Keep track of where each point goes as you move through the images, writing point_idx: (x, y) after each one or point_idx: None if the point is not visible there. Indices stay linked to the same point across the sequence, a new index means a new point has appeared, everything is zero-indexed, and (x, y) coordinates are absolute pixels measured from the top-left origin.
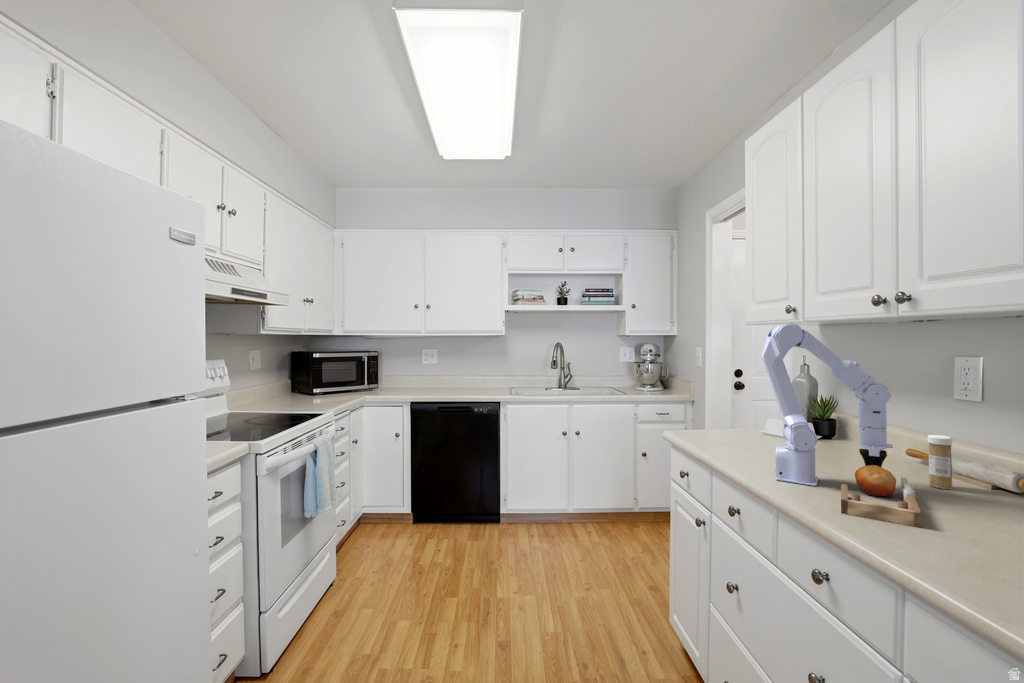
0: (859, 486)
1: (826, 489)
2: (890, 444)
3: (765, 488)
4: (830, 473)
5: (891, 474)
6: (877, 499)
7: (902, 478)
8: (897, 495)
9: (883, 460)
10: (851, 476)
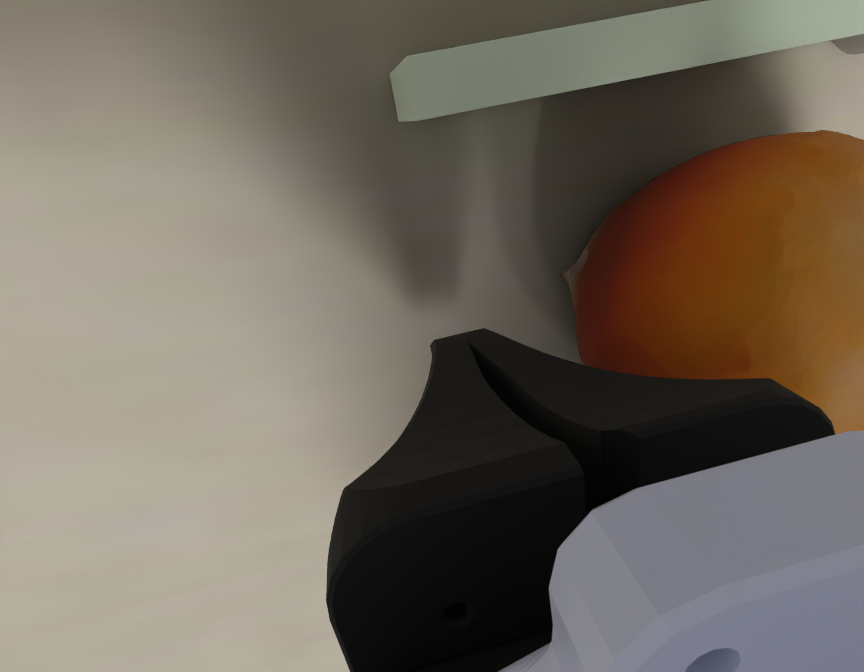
0: None
1: None
2: (678, 660)
3: None
4: (278, 620)
5: (860, 191)
6: None
7: (474, 98)
8: (600, 131)
9: (687, 384)
10: (233, 517)
